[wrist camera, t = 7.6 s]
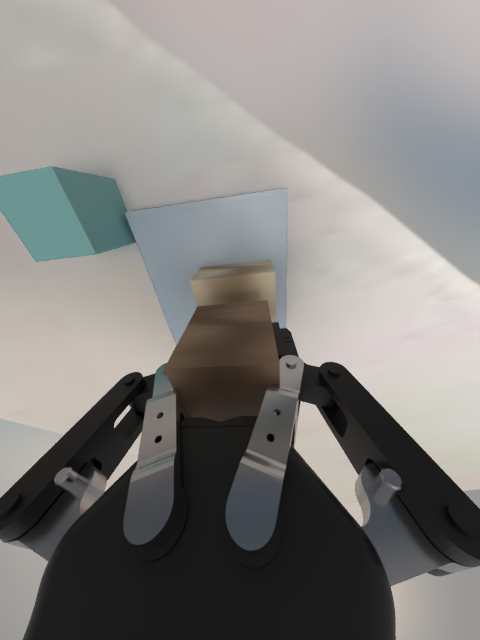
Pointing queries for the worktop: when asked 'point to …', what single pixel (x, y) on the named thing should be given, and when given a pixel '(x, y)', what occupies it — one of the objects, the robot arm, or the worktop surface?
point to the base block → (236, 284)
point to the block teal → (64, 212)
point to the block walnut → (225, 360)
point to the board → (210, 245)
